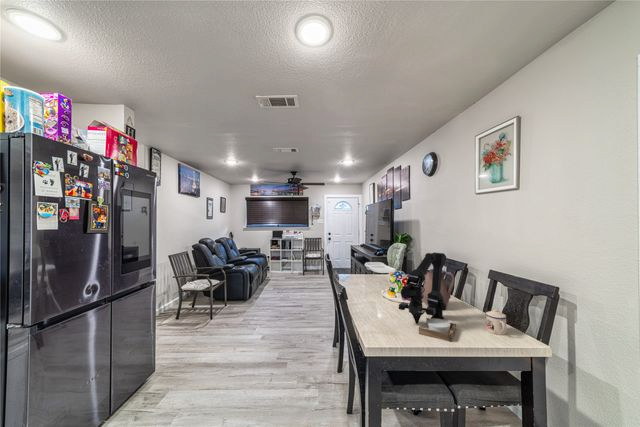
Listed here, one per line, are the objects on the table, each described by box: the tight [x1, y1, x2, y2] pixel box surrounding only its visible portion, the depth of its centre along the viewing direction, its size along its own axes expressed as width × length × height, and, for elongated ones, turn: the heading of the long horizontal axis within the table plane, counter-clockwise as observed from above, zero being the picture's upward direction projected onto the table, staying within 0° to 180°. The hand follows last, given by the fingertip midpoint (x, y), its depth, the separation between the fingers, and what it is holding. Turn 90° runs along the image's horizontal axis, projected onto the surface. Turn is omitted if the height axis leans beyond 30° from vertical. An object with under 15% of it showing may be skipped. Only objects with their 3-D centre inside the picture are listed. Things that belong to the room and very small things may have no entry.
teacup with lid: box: [485, 308, 507, 336], centre depth 133 cm, size 12×9×12 cm
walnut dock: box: [418, 317, 458, 343], centre depth 135 cm, size 17×15×3 cm
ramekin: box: [427, 318, 451, 334], centre depth 134 cm, size 11×11×5 cm
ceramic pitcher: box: [422, 268, 456, 307], centre depth 174 cm, size 18×21×25 cm
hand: (416, 324), depth 141 cm, fingers closed
